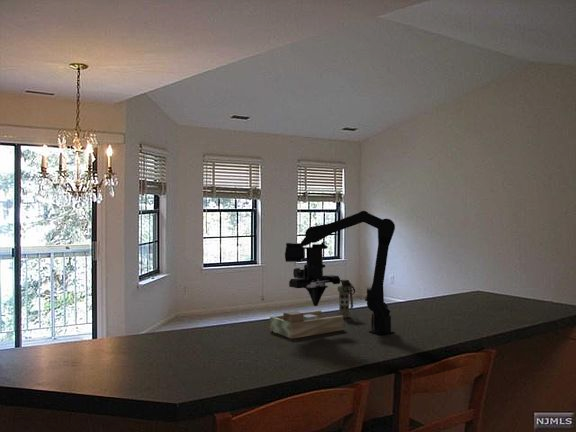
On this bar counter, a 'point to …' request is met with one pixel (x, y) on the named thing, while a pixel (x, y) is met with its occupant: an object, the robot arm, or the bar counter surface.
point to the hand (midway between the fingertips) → (315, 305)
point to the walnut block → (293, 316)
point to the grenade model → (345, 298)
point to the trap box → (306, 325)
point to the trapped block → (310, 317)
